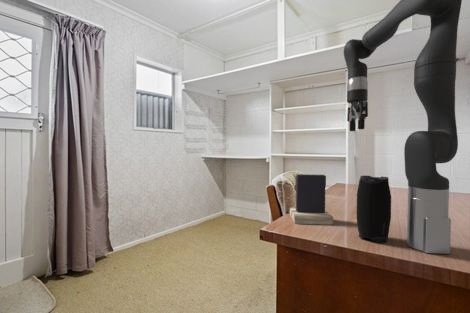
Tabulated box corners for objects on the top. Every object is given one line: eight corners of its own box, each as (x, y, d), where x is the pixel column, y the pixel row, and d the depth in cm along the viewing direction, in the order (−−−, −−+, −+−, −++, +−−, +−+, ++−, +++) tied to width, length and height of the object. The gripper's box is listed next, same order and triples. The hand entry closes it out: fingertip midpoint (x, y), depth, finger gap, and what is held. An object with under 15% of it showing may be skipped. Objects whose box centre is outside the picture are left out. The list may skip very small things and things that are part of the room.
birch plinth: (332, 224, 92) (332, 216, 92) (294, 223, 93) (294, 215, 93) (322, 215, 106) (322, 208, 106) (289, 214, 107) (289, 207, 107)
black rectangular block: (322, 210, 101) (323, 174, 101) (325, 213, 97) (326, 175, 97) (295, 210, 102) (295, 174, 102) (297, 212, 98) (297, 175, 97)
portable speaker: (353, 233, 83) (354, 175, 82) (383, 235, 81) (385, 175, 80) (360, 242, 74) (361, 177, 74) (395, 244, 72) (396, 178, 72)
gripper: (375, 85, 93) (374, 128, 93) (359, 94, 107) (358, 131, 107) (354, 85, 93) (354, 128, 94) (341, 94, 108) (341, 131, 108)
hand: (356, 130), depth 100 cm, fingers open, 8 cm apart
